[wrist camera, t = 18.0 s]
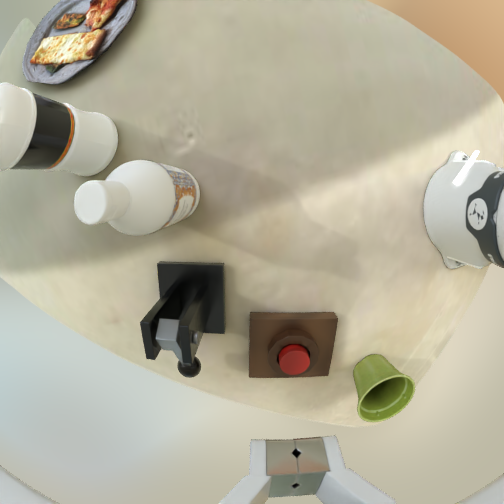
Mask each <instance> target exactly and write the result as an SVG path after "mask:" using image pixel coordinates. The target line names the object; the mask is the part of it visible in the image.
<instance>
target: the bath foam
mask: <svg viewBox="0 0 504 504" xmlns="http://www.w3.org/2000/svg"><path fill="white" fill-rule="evenodd" d="M199 198H200V190H199V186H198V183H197V181H196V179H195V178H194V177H193V176H192V175H191V174H190V173H189V172H187V171H185V170H183V169H180V168H177V167H173V166H169V165H165V164H161V163H157V162H153V161H149V160H135V161H130V162H127V163H124V164H122V165H120V166H119V167H117V168H116V169H115V170H113V171H112V172H111V173H110V174H109V176H108V177H107V178H106V180H105V181H102V180H92V181H87V182H85V183H83V184H82V185H81V186H80V187H79V188H78V190H77V192H76V194H75V198H74V209H75V212H76V215H77V217H78V218H79V219H80V221H82V222H83V223H85V224H87V225H97V224H101V223H104V222H108V223H109V224H110V225H111V226H112V227H113V228H115V229H116V230H118V231H120V232H122V233H124V234H128V235H135V236H139V235H147V234H151V233H153V232H156V231H158V230H160V229H163V228H165V227H167V226H170V225H172V224H174V223H177V222H179V221H181V220H183V219H185V218H187V217H189V216H190V215H191V214H192V213H193V212H194V210H195V209H196V207H197V205H198V203H199Z"/></svg>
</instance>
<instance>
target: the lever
mask: <svg viewBox="0 0 504 504" xmlns="http://www.w3.org/2000/svg"><path fill="white" fill-rule="evenodd" d="M179 324H180V320H173V319H159V324H158V329H157V333H156V338H155V339H156V340H157V342H158V343H159V345H160V346H161V348H162V349H163V350H172V351H173V352H174V353H175V355H176V356H177V358H178V359H179V361H178V370H179V372H180V373H181V374H182V375H183V376H185V377H194V376H196V375H198V374H199V372H200V370H201V363H200V361H199V359H198V358H197V357H194V360H193V363H192V364H188V363H183V360H182V352H181V344H180V335H179Z"/></svg>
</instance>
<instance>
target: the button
mask: <svg viewBox="0 0 504 504" xmlns="http://www.w3.org/2000/svg"><path fill="white" fill-rule="evenodd" d="M279 364H280V368H281V370H282V371H283V372H285V373H286V374H290V375H296V374H300V373H302V372H304V371H305V370H306V369H307V368H308V366H309V364H310V359H309V355H308V352H307V350H306V348H305V347H303V346H301V345H298V344H292V345H288V346H286V347H285V348H283V349H282V350H281V352H280V354H279Z"/></svg>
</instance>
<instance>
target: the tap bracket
mask: <svg viewBox="0 0 504 504" xmlns="http://www.w3.org/2000/svg"><path fill="white" fill-rule="evenodd" d="M157 267H158V280H159V291H160V299H159V300H158V302H157V303H156V304H155V305H154V306H153V308H152V309H151V310H150V311H149V312H148V313H147V315H146V316H145V317H144V318H143V319H142V321H141V322H140V325H141V331H142V337H143V342H144V348H145V353H146V358H147V359H152V360H155V359H156V357H157V355H158V354H159V352H160V350H161V346H160V345H159V343H158V342H157V340H156V339H155V338H156V333H157V329H158V324H159V319H173V320H180V324H179V335H180V344H181V352H182V360H183V363H188V364H192V363H193V360H194V357H195V354H196V352H197V349H198V346H199V343H200V341H201V338H202V335H203V333H219V334H225V283H224V263H198V262H162V261H160V262H159V263H157Z"/></svg>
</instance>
